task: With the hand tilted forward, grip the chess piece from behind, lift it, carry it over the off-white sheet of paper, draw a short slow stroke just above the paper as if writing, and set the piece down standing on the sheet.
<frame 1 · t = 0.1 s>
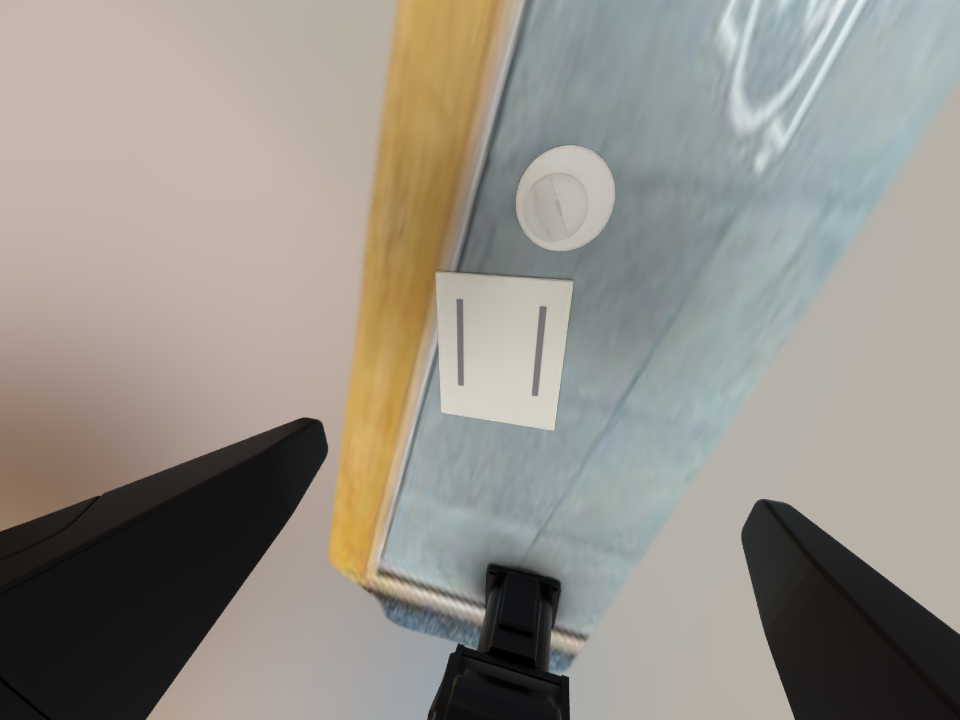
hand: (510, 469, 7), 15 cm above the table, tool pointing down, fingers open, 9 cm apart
paper: (499, 353, 23), on the table
chess piece: (563, 201, 18), on the table
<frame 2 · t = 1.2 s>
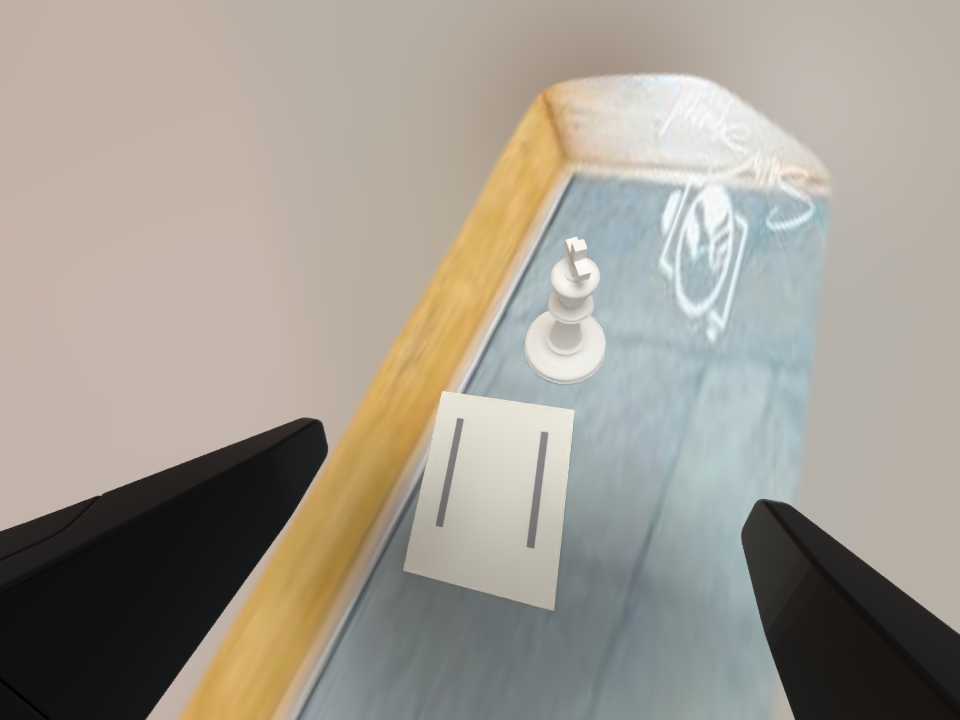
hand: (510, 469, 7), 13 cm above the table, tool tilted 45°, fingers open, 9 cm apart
paper: (492, 487, 20), on the table
chess piece: (563, 347, 22), on the table
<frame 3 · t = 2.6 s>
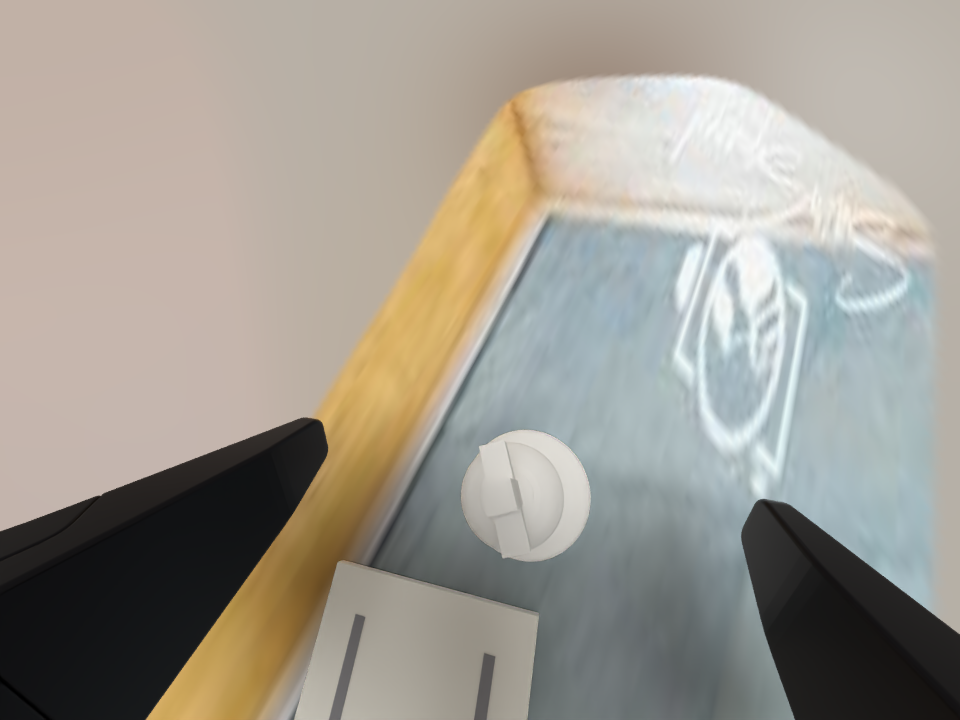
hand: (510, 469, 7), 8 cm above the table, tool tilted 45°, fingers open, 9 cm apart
chess piece: (527, 491, 14), on the table
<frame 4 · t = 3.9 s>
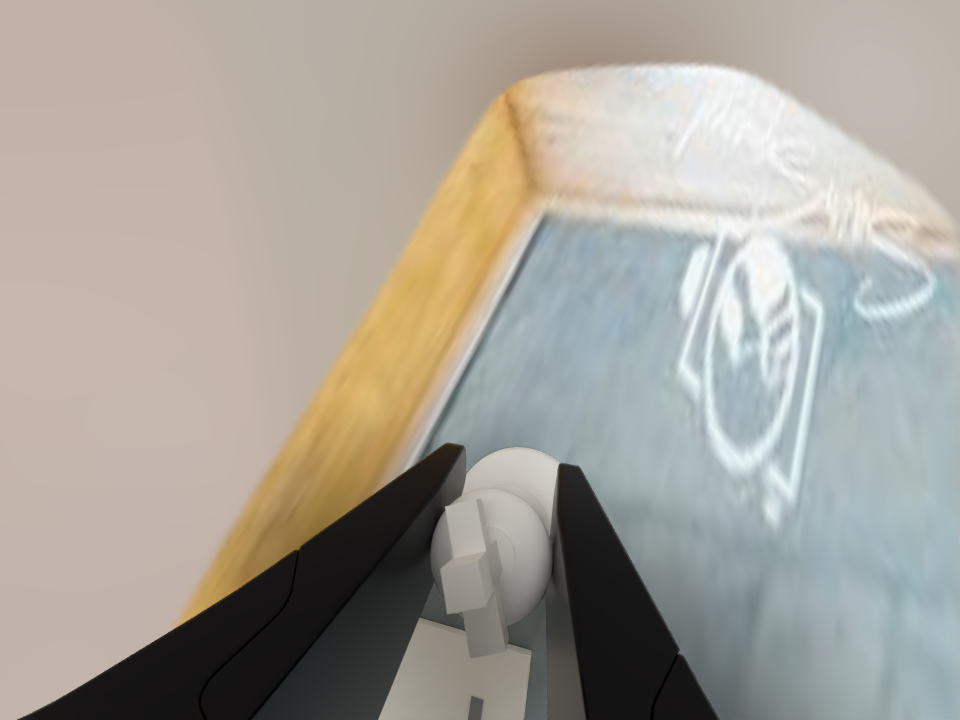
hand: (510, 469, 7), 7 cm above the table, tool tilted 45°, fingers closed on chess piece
chess piece: (519, 514, 13), on the table, touching gripper
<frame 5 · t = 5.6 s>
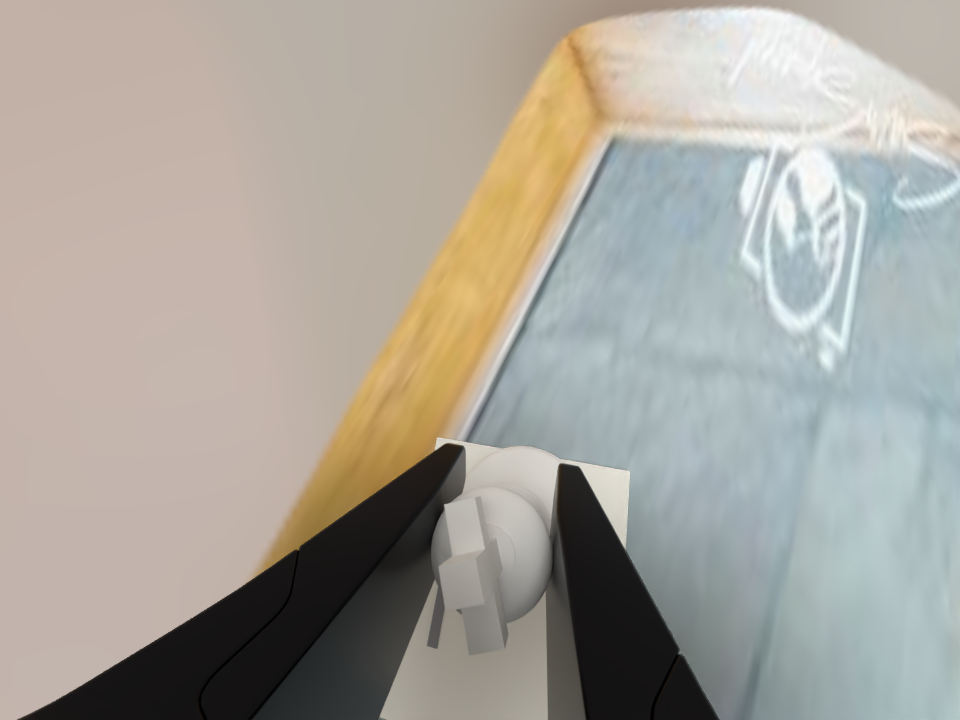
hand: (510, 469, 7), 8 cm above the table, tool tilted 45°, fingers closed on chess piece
paper: (510, 585, 14), on the table
chess piece: (522, 513, 13), point 1 cm above the table, touching gripper
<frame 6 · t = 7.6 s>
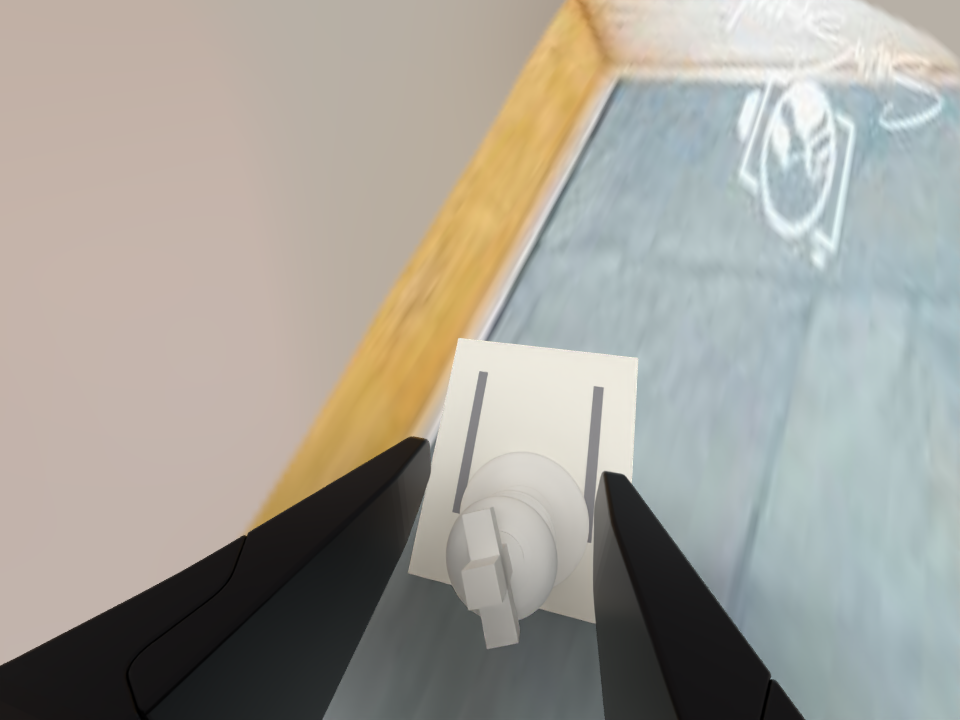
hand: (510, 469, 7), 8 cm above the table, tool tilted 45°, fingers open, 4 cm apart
paper: (528, 461, 15), on the table
chess piece: (523, 516, 14), resting on paper
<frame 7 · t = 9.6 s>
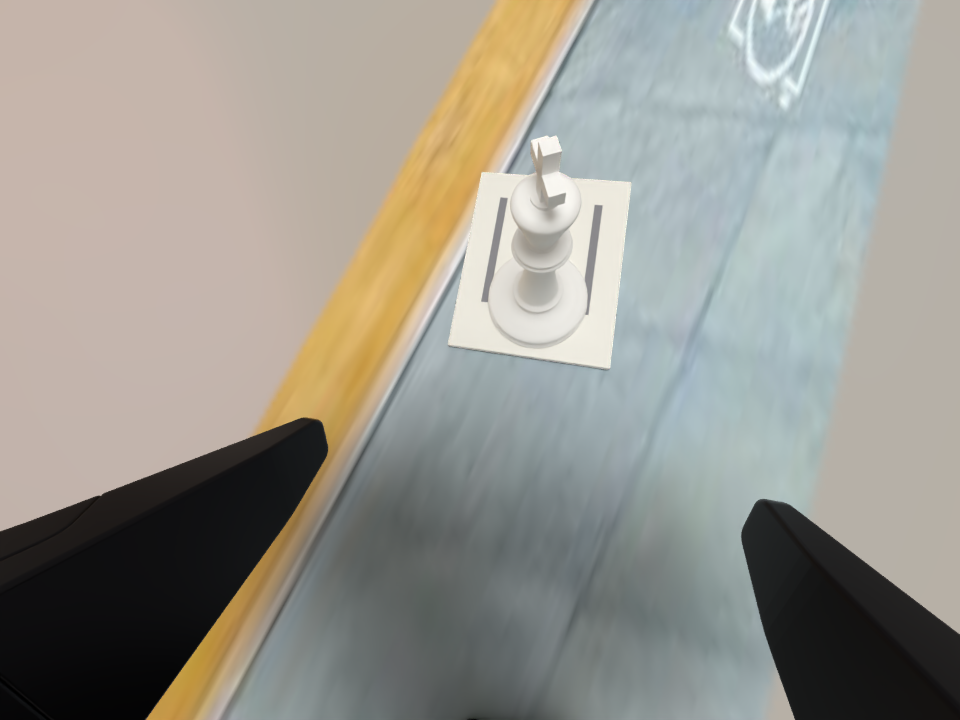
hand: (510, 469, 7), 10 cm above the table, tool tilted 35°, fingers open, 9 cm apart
paper: (540, 265, 19), on the table
chess piece: (536, 302, 18), resting on paper
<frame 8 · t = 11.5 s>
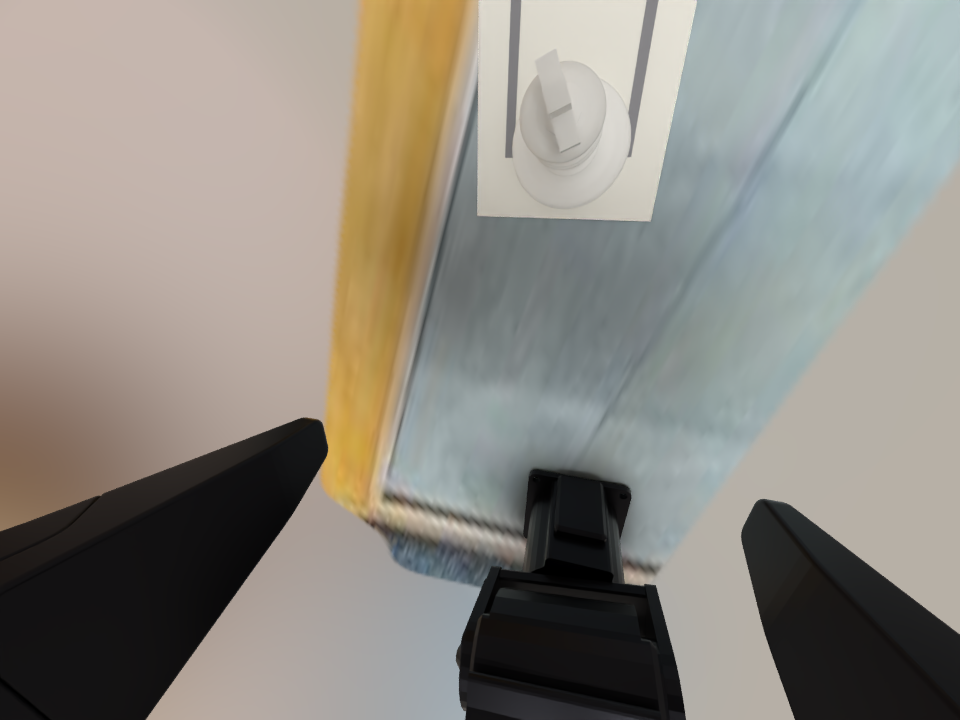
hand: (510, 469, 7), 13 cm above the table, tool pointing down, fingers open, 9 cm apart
paper: (573, 89, 15), on the table
chess piece: (569, 147, 15), resting on paper
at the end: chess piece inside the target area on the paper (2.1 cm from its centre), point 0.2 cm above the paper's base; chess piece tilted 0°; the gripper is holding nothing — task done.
